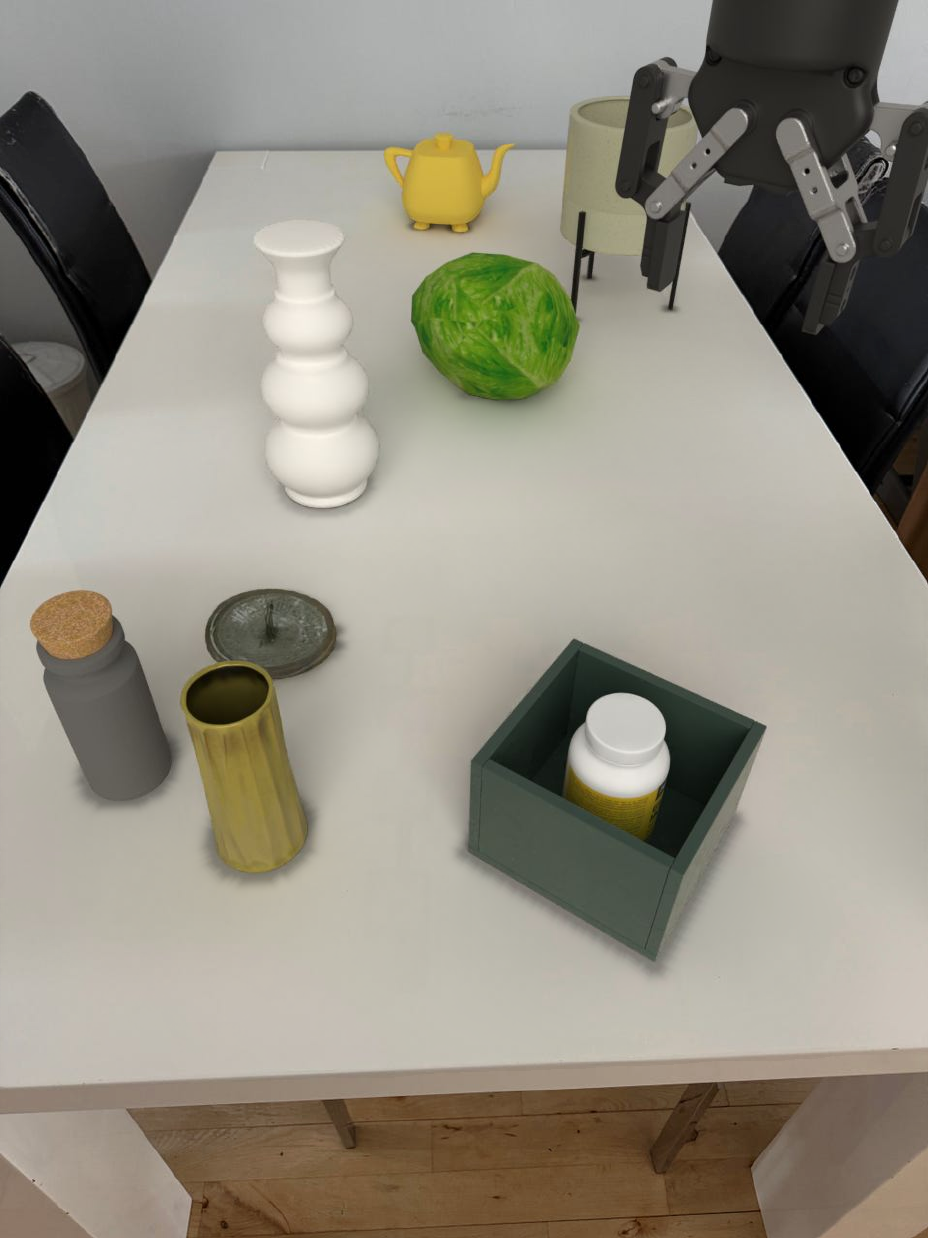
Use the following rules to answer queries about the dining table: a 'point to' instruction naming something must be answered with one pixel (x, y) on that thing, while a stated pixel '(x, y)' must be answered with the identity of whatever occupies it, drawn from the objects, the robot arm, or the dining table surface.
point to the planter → (611, 183)
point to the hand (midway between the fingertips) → (734, 306)
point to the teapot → (444, 180)
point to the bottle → (100, 695)
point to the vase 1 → (244, 765)
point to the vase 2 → (313, 372)
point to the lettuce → (495, 325)
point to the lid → (272, 631)
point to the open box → (585, 844)
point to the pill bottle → (619, 763)
